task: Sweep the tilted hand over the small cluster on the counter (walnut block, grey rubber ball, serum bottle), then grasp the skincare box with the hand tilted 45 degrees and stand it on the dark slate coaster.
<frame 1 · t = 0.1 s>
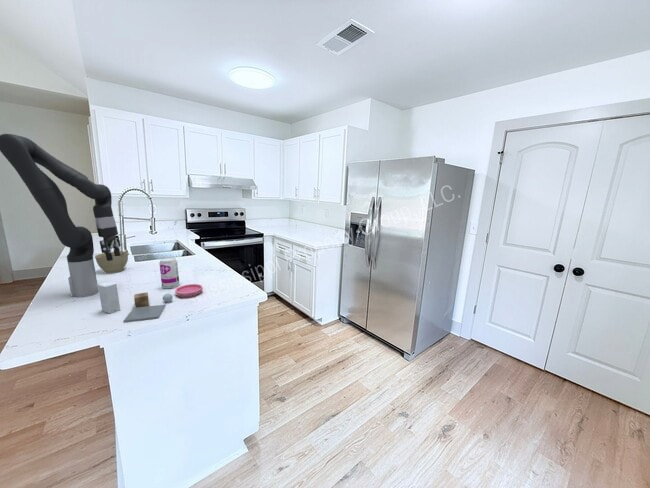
hand: (114, 258, 131), 17 cm above the countertop, tool pointing down, fingers open, 8 cm apart
supplement can: (170, 286, 142), on the countertop
skincare box: (111, 310, 113), on the countertop
slate coaster: (146, 313, 111), on the countertop
grey ball: (168, 301, 123), on the countertop
planter bowl: (114, 271, 166), on the countertop
walnut block: (142, 305, 119), on the countertop
saucer: (189, 294, 133), on the countertop
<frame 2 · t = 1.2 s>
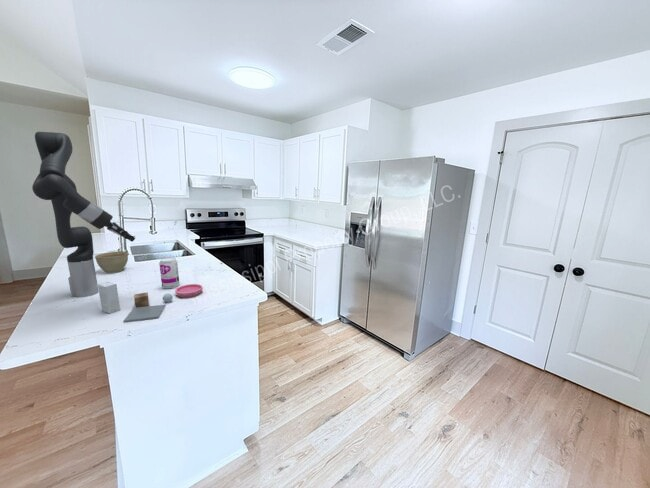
hand: (131, 238, 122), 29 cm above the countertop, tool tilted 45°, fingers open, 8 cm apart
nothing on the countertop moved.
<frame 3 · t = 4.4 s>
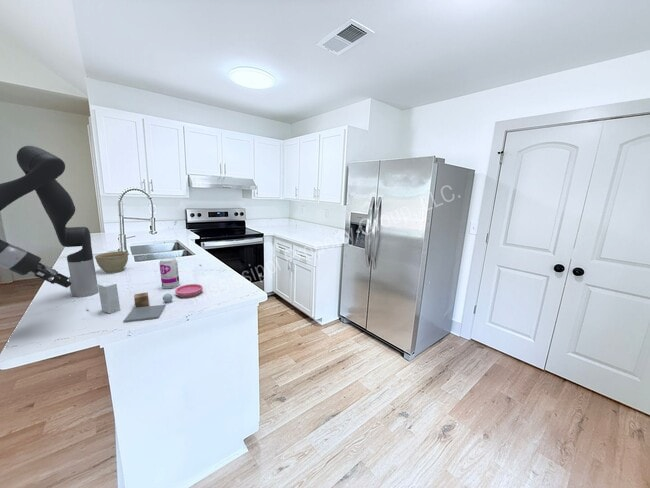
hand: (68, 282, 102), 16 cm above the countertop, tool tilted 45°, fingers open, 8 cm apart
nothing on the countertop moved.
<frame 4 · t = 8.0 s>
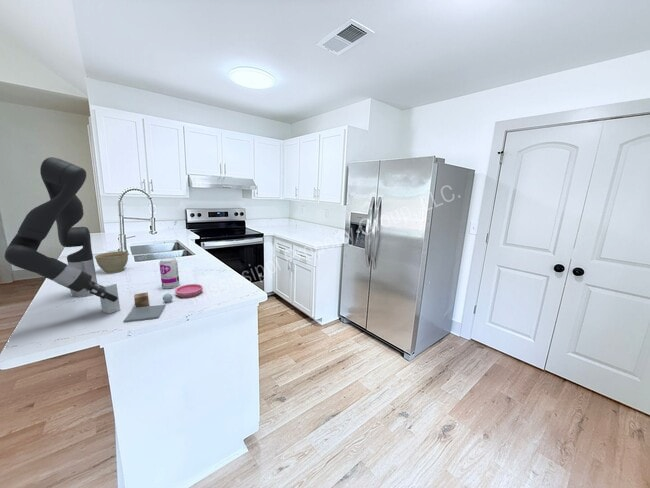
hand: (114, 297, 113), 5 cm above the countertop, tool tilted 45°, fingers closed on skincare box, 7 cm apart
skincare box: (111, 310, 113), on the countertop, touching gripper
everything else where it was.
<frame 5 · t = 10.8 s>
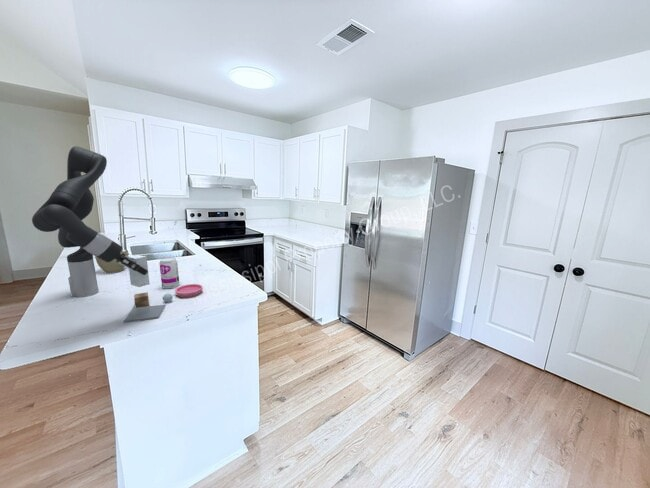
hand: (143, 271, 108), 19 cm above the countertop, tool tilted 45°, fingers closed on skincare box, 6 cm apart
skincare box: (140, 285, 108), point 13 cm above the countertop, touching gripper
everything else where it was.
when the fingers open (7 cm above the countertop, at t = 13.6 s): skincare box stays where it is, resting on slate coaster.
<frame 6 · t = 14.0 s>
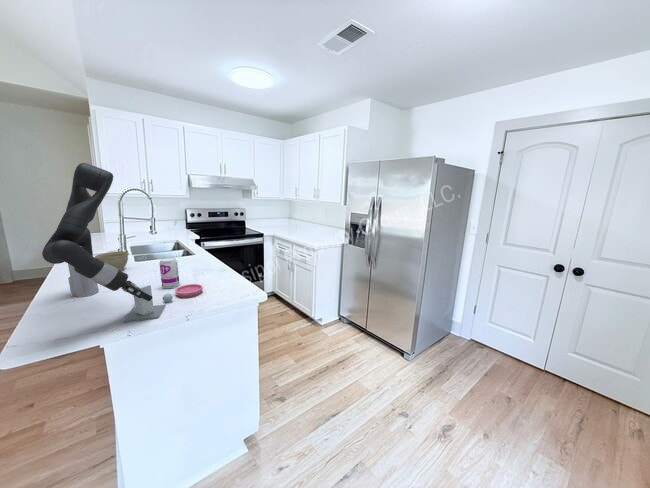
hand: (147, 296, 110), 7 cm above the countertop, tool tilted 45°, fingers open, 8 cm apart
skincare box: (144, 312, 110), point 1 cm above the countertop, touching slate coaster
everything else where it was.
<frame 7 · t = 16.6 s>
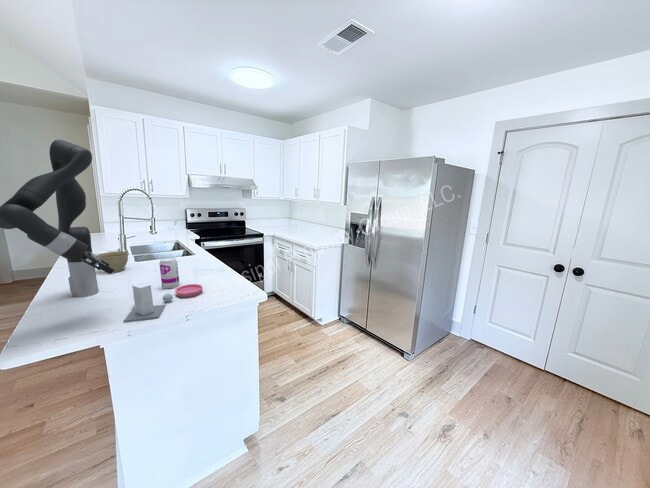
hand: (110, 269, 108), 19 cm above the countertop, tool tilted 45°, fingers open, 8 cm apart
nothing on the countertop moved.
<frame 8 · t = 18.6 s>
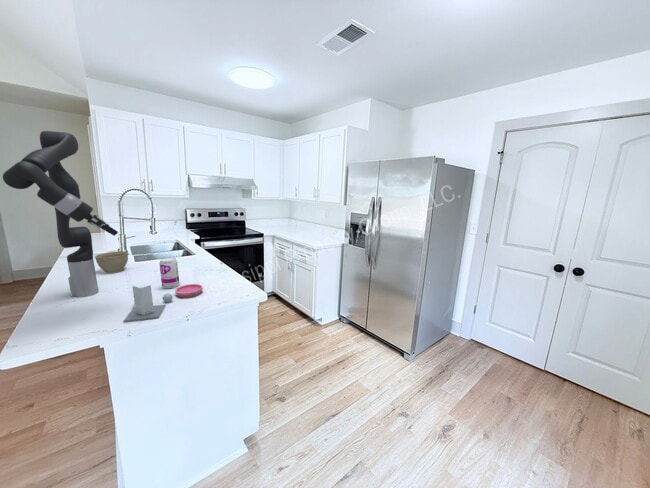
hand: (113, 232, 114), 33 cm above the countertop, tool tilted 45°, fingers open, 8 cm apart
nothing on the countertop moved.
at the end: skincare box inside the target area on the slate coaster (0.3 cm from its centre), point 0.6 cm above the slate coaster's base; skincare box tilted 0°; the gripper is holding nothing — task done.
